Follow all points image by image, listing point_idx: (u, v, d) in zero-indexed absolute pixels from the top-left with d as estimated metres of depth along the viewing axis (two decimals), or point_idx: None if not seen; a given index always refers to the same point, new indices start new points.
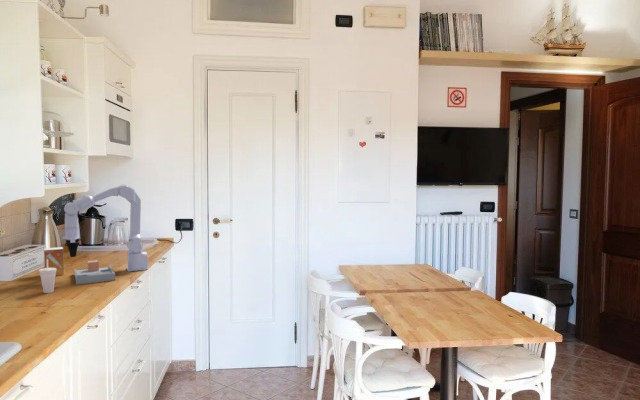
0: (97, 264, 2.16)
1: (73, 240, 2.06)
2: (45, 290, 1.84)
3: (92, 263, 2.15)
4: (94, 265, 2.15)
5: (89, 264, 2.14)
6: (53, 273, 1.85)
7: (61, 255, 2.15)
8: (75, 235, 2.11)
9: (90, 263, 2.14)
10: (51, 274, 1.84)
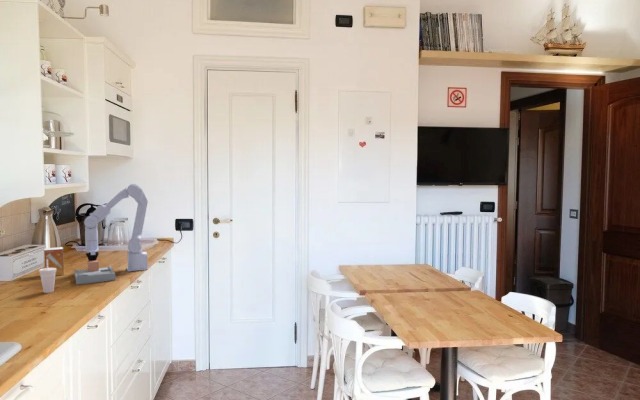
0: (97, 264, 2.16)
1: (93, 252, 2.14)
2: (45, 290, 1.84)
3: (92, 263, 2.15)
4: (94, 265, 2.15)
5: (89, 264, 2.14)
6: (53, 273, 1.85)
7: (61, 255, 2.15)
8: (95, 247, 2.18)
9: (90, 263, 2.14)
10: (51, 274, 1.84)
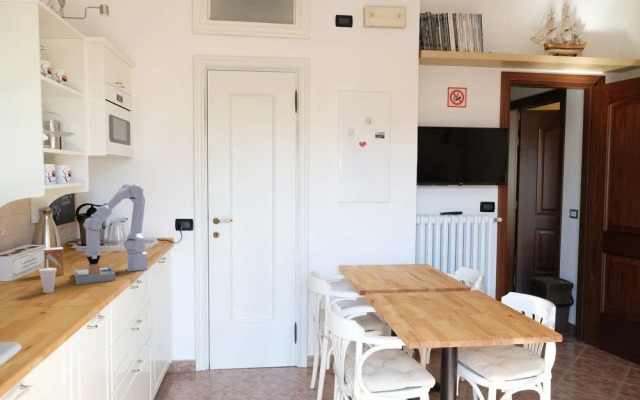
0: (98, 268, 2.07)
1: (95, 256, 2.04)
2: (45, 290, 1.84)
3: (93, 267, 2.06)
4: (95, 269, 2.06)
5: (90, 268, 2.05)
6: (53, 273, 1.85)
7: (61, 255, 2.15)
8: (96, 251, 2.09)
9: (91, 267, 2.05)
10: (51, 274, 1.84)
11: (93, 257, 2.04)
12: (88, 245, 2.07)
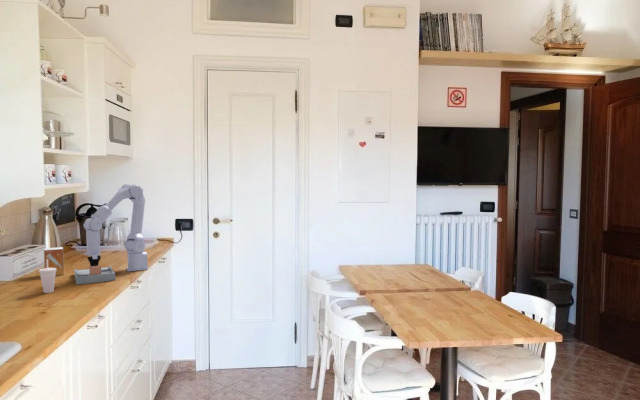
0: (100, 270, 2.04)
1: (95, 256, 2.04)
2: (45, 290, 1.84)
3: (94, 269, 2.03)
4: (96, 271, 2.03)
5: (91, 270, 2.02)
6: (53, 273, 1.85)
7: (61, 255, 2.15)
8: (97, 251, 2.09)
9: (92, 269, 2.02)
10: (51, 274, 1.84)
11: (94, 257, 2.04)
12: (88, 245, 2.07)
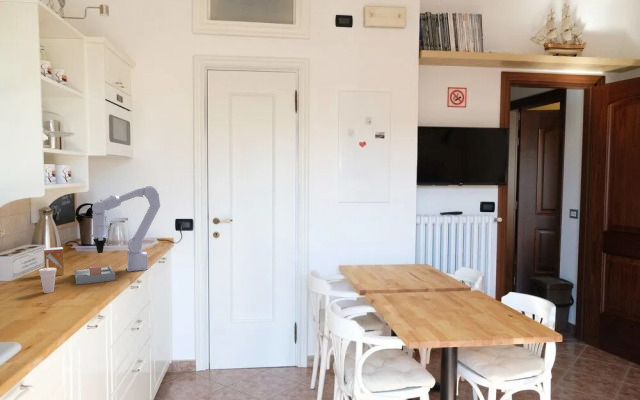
0: (100, 270, 2.04)
1: (101, 238, 2.14)
2: (45, 290, 1.84)
3: (94, 269, 2.03)
4: (96, 271, 2.03)
5: (91, 270, 2.02)
6: (53, 273, 1.85)
7: (61, 255, 2.15)
8: (102, 233, 2.19)
9: (92, 269, 2.02)
10: (51, 274, 1.84)
11: (99, 239, 2.14)
12: (94, 228, 2.17)
